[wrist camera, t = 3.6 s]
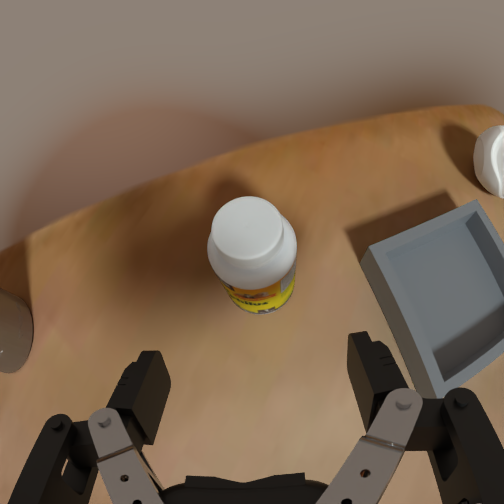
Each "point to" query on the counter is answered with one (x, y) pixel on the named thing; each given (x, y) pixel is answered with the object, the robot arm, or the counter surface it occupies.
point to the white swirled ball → (490, 160)
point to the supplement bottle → (253, 254)
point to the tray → (442, 296)
